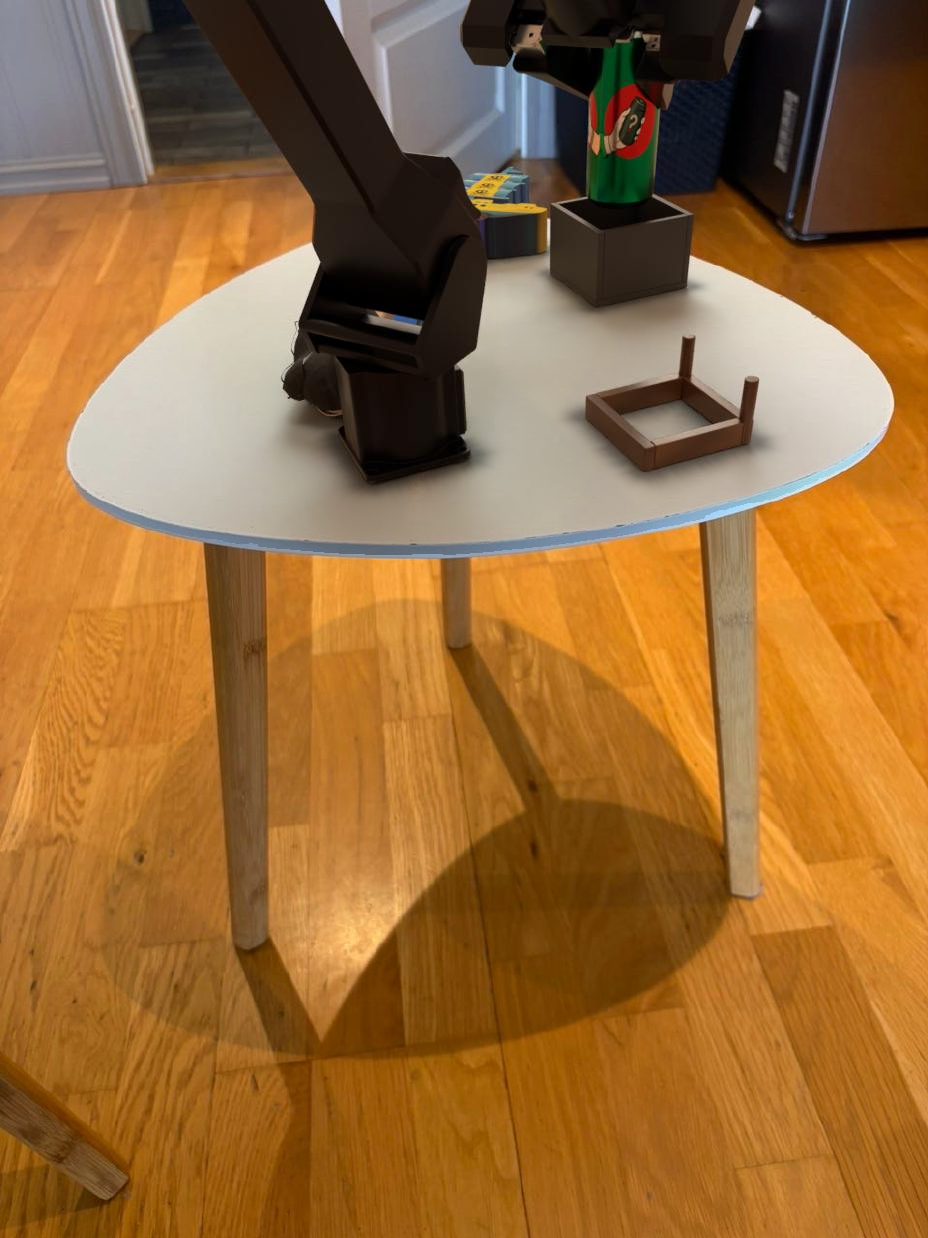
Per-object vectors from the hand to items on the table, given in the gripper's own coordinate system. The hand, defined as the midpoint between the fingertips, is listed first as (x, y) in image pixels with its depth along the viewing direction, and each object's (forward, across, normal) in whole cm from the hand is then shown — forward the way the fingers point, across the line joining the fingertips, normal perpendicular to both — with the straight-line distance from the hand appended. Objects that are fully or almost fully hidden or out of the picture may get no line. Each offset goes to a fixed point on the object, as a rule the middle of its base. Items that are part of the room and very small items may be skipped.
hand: (633, 100), depth 68 cm
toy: (+6, +16, +10) cm, 19 cm away
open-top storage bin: (+8, 0, +10) cm, 13 cm away
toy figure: (-8, +9, +26) cm, 29 cm away
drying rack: (-6, -13, +24) cm, 28 cm away
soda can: (+4, 0, +6) cm, 7 cm away
